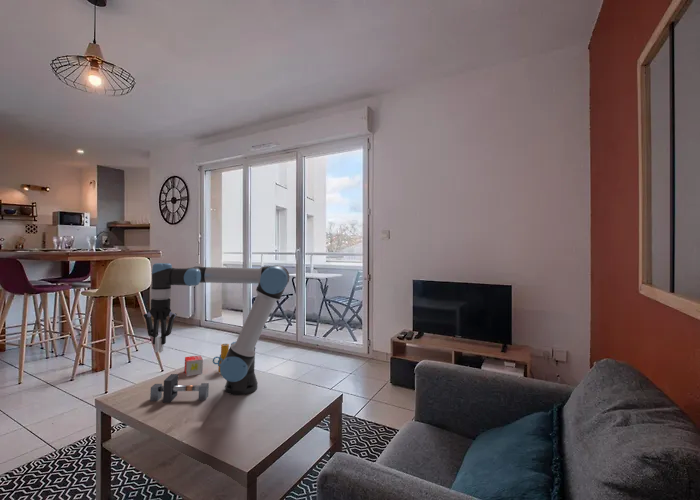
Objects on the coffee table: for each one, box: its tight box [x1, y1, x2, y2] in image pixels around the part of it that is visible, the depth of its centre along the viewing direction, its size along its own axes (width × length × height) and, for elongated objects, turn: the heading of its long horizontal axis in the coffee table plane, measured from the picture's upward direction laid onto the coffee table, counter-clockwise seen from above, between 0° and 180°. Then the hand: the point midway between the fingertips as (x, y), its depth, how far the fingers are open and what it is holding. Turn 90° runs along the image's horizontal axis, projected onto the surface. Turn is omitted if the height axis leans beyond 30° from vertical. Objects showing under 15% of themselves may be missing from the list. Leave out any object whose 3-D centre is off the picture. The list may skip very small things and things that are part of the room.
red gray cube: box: [184, 354, 204, 377], centre depth 180 cm, size 8×8×8 cm
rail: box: [149, 382, 210, 402], centre depth 146 cm, size 23×7×7 cm, turn 97°
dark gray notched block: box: [162, 373, 179, 404], centre depth 145 cm, size 3×8×10 cm, turn 7°
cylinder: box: [212, 343, 230, 374], centre depth 183 cm, size 12×10×15 cm
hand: (158, 351), depth 145 cm, fingers closed
